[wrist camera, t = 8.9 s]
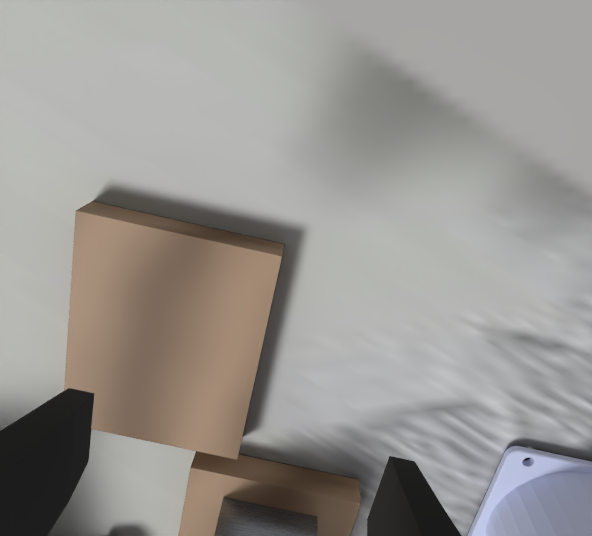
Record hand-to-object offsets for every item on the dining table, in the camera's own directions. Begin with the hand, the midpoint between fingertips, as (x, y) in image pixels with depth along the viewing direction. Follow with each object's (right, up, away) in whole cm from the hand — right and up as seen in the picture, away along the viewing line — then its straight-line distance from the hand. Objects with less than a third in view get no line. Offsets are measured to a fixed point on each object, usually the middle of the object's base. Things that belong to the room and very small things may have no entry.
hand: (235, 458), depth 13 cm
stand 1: (-4, +2, +11) cm, 12 cm away
